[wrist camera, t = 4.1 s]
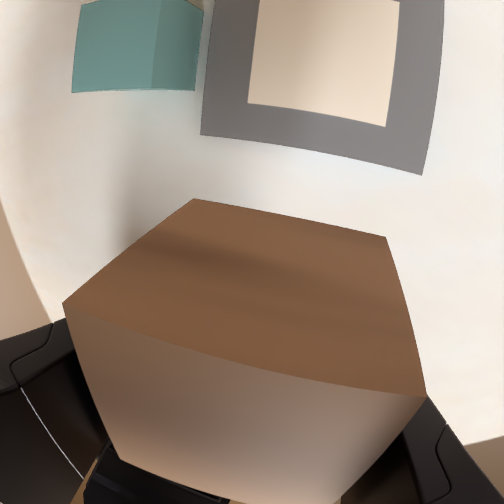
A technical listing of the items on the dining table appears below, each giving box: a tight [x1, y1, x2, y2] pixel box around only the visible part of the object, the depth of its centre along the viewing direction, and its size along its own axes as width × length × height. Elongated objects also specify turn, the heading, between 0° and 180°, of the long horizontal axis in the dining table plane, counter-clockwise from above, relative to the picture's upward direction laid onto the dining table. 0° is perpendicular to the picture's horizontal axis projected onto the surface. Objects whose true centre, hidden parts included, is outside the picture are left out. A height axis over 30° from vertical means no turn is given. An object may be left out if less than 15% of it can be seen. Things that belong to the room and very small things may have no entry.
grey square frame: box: [200, 0, 444, 175], centre depth 14 cm, size 11×12×1 cm
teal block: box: [72, 0, 204, 93], centre depth 14 cm, size 5×5×5 cm
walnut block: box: [62, 199, 427, 504], centre depth 7 cm, size 5×5×5 cm
